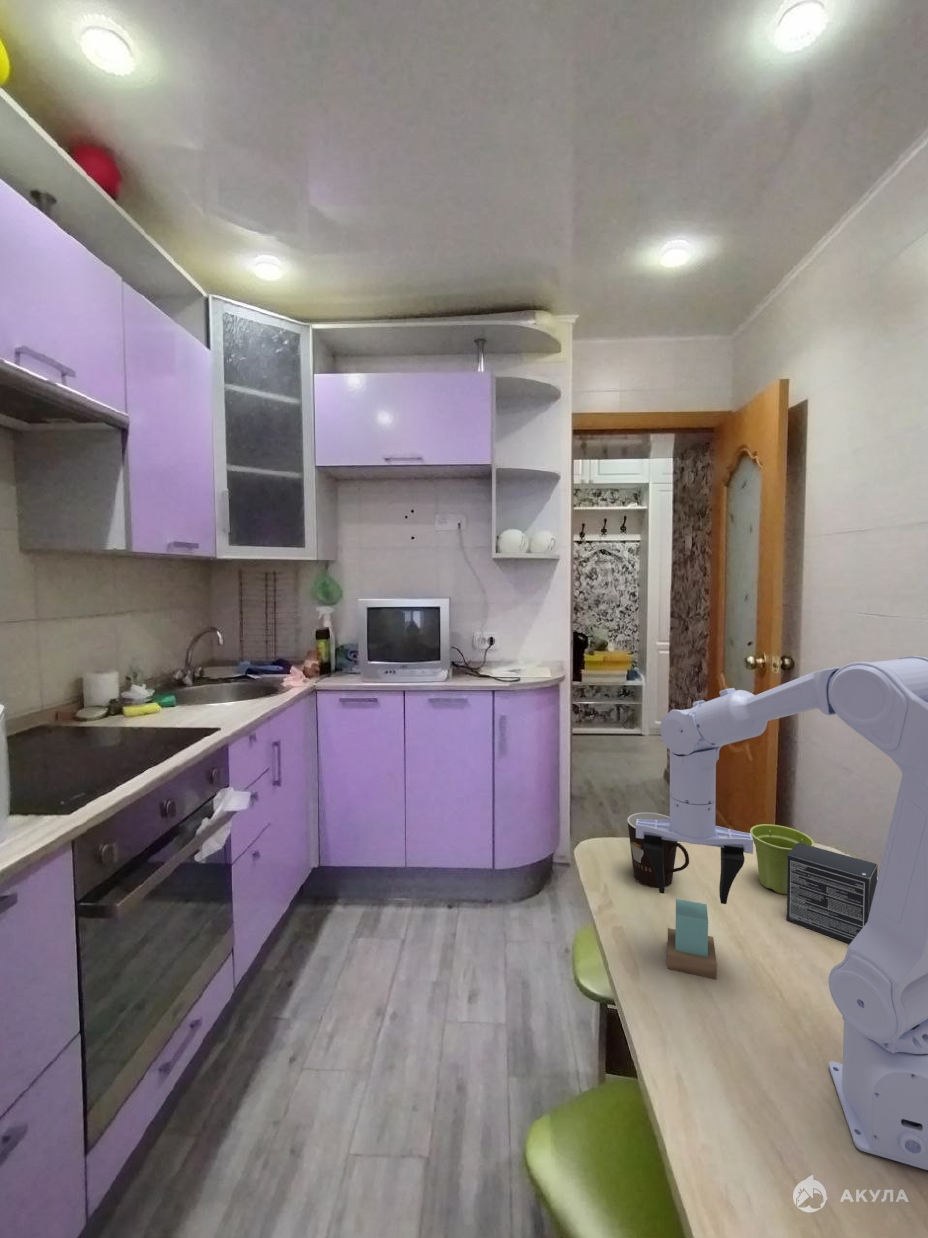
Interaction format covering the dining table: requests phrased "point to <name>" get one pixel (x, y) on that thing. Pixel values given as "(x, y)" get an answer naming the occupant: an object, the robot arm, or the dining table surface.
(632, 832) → the coffee mug
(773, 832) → the plant pot
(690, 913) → the teal brick
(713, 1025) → the dining table surface
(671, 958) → the base brick
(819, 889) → the small box
